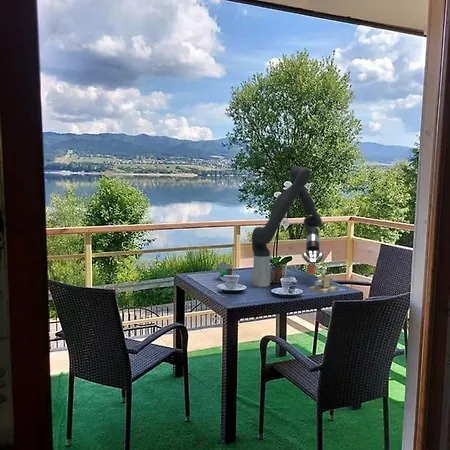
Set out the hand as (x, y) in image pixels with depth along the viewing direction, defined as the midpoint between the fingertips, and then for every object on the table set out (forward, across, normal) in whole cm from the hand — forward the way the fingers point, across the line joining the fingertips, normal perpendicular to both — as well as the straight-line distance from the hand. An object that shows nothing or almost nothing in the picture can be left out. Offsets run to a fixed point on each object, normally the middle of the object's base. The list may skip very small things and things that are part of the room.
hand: (312, 268), depth 268 cm
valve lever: (+5, +2, -2) cm, 6 cm away
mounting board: (+12, +6, +2) cm, 14 cm away
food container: (+2, -52, +12) cm, 54 cm away
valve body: (+11, +6, +1) cm, 13 cm away
